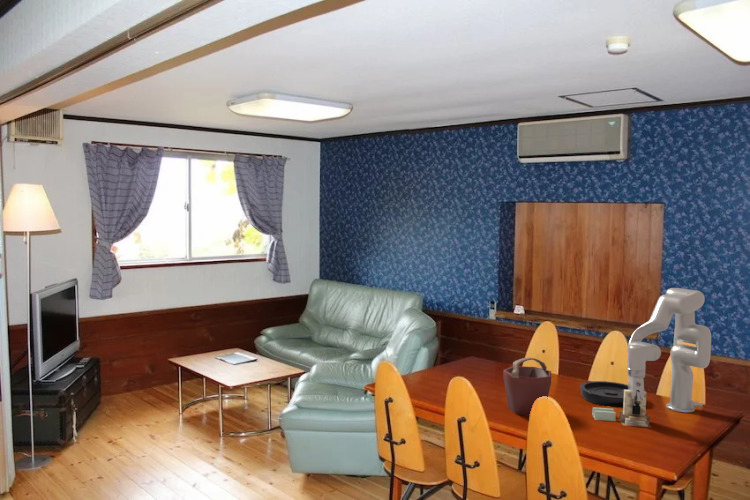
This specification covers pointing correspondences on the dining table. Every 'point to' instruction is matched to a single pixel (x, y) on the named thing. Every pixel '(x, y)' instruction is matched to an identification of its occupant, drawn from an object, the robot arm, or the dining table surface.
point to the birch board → (629, 404)
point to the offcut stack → (636, 421)
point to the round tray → (604, 393)
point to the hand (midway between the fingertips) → (634, 411)
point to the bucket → (525, 385)
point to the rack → (623, 416)
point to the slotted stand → (604, 414)
